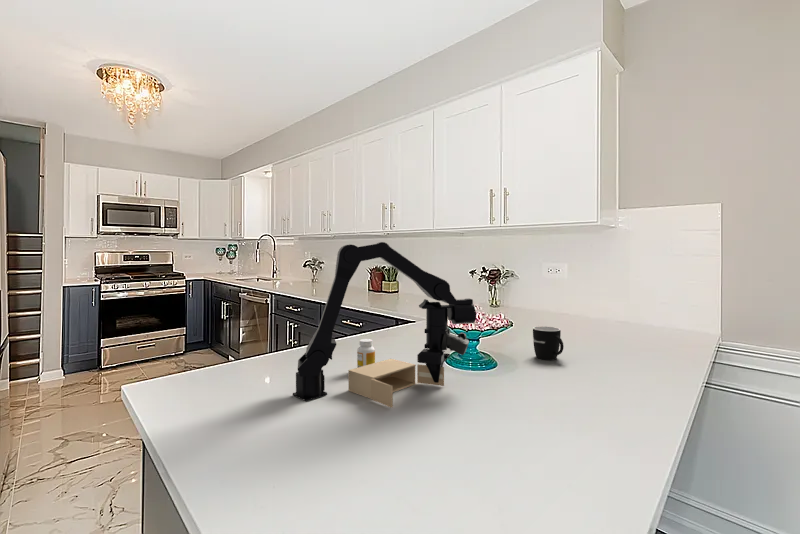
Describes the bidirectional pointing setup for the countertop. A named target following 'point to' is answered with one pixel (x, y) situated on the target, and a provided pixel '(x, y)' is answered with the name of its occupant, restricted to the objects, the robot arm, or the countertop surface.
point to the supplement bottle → (365, 353)
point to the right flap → (428, 375)
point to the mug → (547, 342)
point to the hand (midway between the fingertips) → (436, 381)
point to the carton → (381, 376)
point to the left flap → (382, 392)
